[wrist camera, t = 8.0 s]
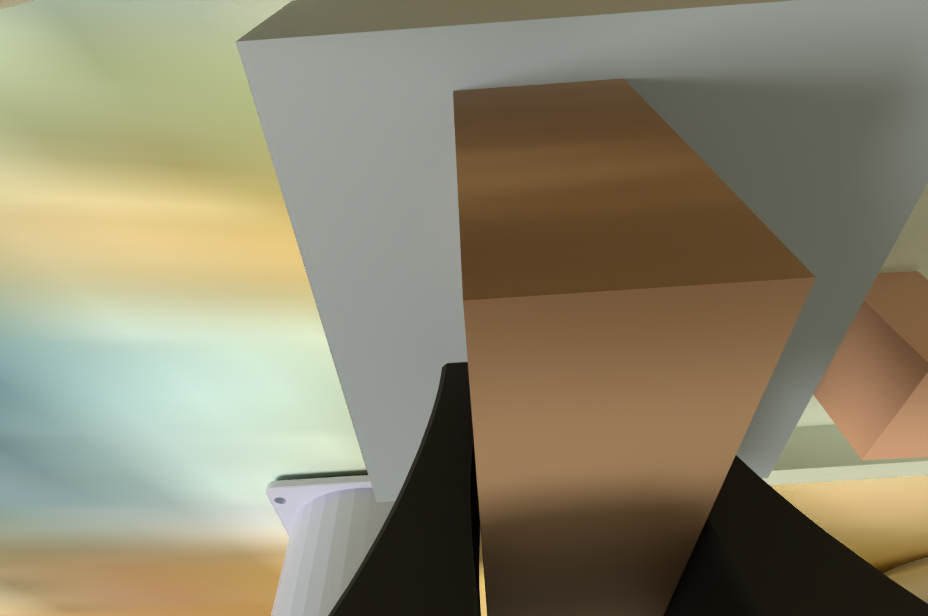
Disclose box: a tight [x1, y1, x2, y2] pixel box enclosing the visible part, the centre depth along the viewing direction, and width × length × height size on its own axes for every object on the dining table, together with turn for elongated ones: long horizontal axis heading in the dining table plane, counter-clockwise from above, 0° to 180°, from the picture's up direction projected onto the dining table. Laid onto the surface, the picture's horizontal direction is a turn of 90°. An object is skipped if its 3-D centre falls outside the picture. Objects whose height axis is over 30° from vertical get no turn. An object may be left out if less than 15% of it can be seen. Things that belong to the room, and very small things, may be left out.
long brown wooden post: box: [453, 79, 816, 616], centre depth 11 cm, size 12×3×6 cm, turn 3°
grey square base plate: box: [236, 0, 928, 502], centre depth 14 cm, size 14×13×4 cm
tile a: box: [813, 271, 928, 460], centre depth 16 cm, size 4×4×2 cm
